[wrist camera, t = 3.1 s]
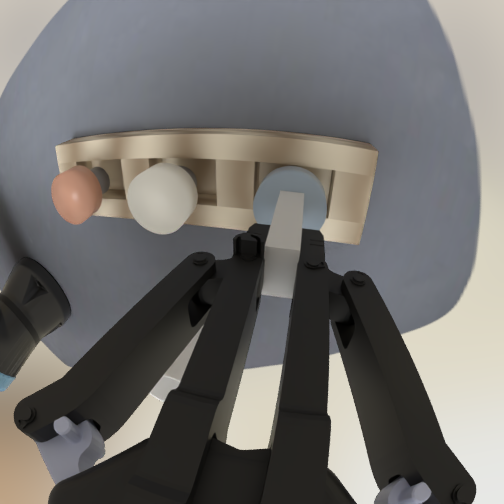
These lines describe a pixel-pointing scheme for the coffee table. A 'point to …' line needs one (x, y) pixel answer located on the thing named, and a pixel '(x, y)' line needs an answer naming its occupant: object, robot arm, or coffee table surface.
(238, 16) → the coffee table surface
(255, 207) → the slate ball
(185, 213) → the cream rounded piece
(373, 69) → the coffee table surface
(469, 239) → the coffee table surface
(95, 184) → the terracotta ball
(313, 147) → the three-ball wooden rack
